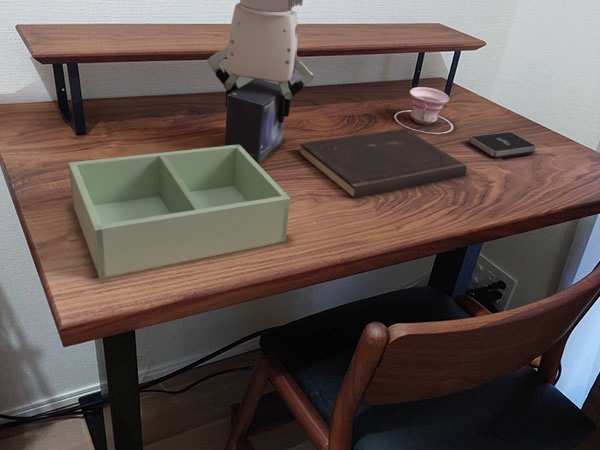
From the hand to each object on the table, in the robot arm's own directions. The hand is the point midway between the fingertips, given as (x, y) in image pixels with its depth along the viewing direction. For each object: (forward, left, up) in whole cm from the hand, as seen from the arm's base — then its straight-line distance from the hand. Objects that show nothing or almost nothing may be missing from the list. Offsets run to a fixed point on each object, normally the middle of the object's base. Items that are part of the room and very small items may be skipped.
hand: (257, 115), depth 88 cm
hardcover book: (+21, +1, -6) cm, 22 cm away
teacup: (+30, +25, -6) cm, 40 cm away
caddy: (-5, -26, -6) cm, 27 cm away
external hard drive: (+44, +17, -6) cm, 48 cm away
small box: (0, 0, -6) cm, 6 cm away
